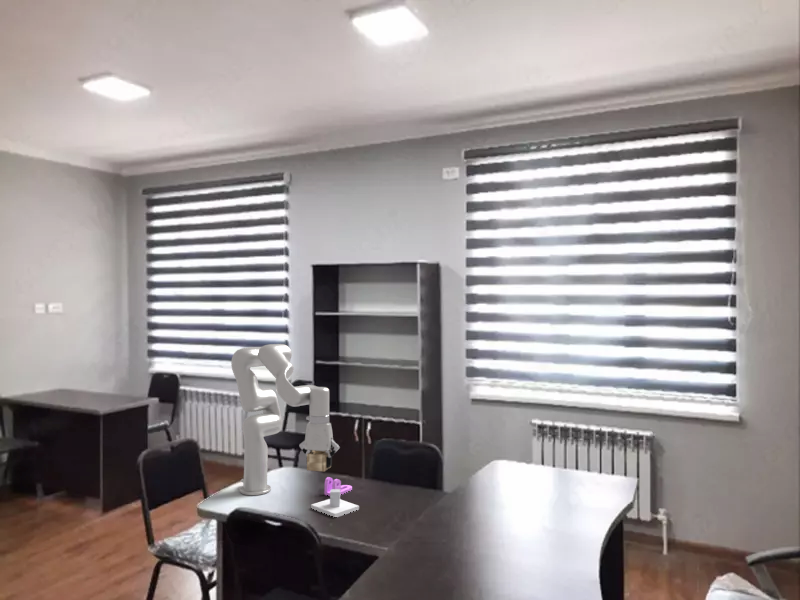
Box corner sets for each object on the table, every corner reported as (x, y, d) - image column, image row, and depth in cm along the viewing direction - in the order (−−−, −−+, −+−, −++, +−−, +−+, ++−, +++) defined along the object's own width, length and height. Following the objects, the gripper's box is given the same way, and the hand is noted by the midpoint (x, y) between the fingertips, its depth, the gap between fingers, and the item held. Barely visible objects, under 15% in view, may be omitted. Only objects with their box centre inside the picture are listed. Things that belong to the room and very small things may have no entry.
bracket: (334, 497, 229) (335, 480, 230) (324, 495, 233) (324, 478, 233) (354, 489, 240) (354, 473, 240) (344, 487, 243) (344, 471, 243)
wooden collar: (306, 470, 213) (306, 454, 213) (313, 465, 220) (314, 450, 220) (324, 471, 211) (324, 455, 211) (330, 466, 218) (331, 451, 218)
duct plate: (310, 508, 216) (311, 490, 216) (334, 501, 225) (335, 483, 225) (335, 517, 207) (335, 498, 207) (359, 509, 216) (359, 491, 216)
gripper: (294, 420, 215) (293, 467, 214) (337, 422, 210) (337, 470, 210) (302, 417, 222) (301, 462, 221) (344, 419, 218) (344, 465, 217)
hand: (319, 466), depth 216 cm, fingers closed on wooden collar, 7 cm apart
